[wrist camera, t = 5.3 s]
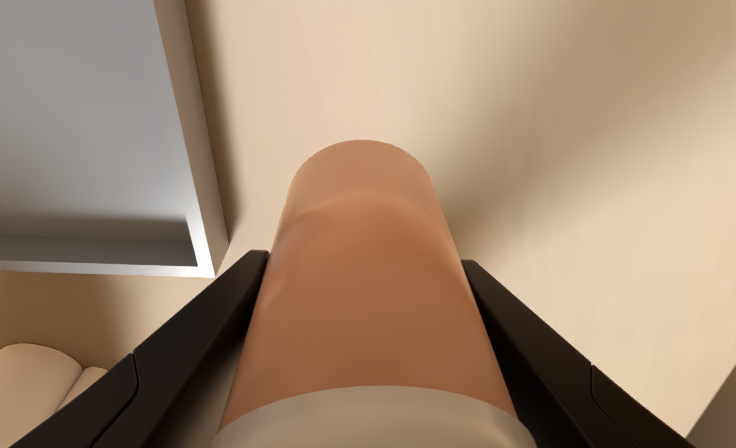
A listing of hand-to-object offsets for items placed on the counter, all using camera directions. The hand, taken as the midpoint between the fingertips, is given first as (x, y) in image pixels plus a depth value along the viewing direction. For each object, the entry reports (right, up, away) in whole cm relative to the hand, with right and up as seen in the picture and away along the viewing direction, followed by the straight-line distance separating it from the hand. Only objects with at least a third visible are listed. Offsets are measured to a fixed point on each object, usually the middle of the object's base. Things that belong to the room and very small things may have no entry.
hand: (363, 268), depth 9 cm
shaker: (0, +1, +2) cm, 2 cm away
